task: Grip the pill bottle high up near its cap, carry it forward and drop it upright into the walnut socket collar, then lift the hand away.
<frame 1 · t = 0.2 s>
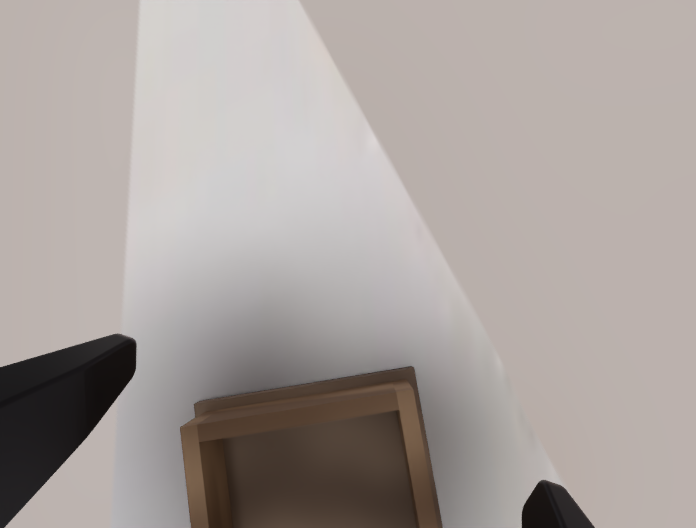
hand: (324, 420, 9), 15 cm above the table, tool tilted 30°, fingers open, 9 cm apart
walnut socket: (322, 496, 23), on the table
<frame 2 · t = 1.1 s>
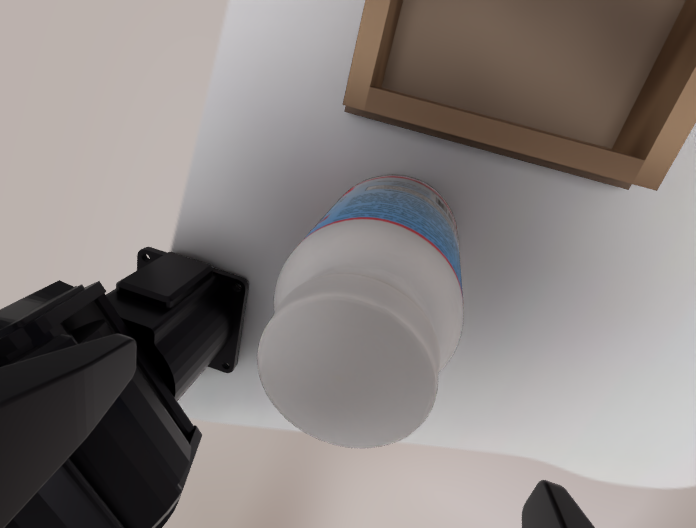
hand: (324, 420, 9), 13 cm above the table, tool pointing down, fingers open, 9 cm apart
pill bottle: (393, 233, 21), on the table
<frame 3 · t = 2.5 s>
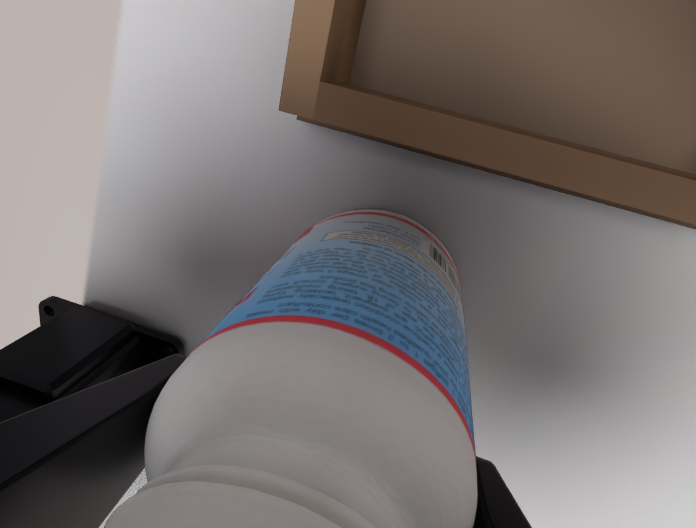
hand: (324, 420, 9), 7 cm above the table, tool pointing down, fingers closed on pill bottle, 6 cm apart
pill bottle: (372, 285, 15), on the table, touching gripper
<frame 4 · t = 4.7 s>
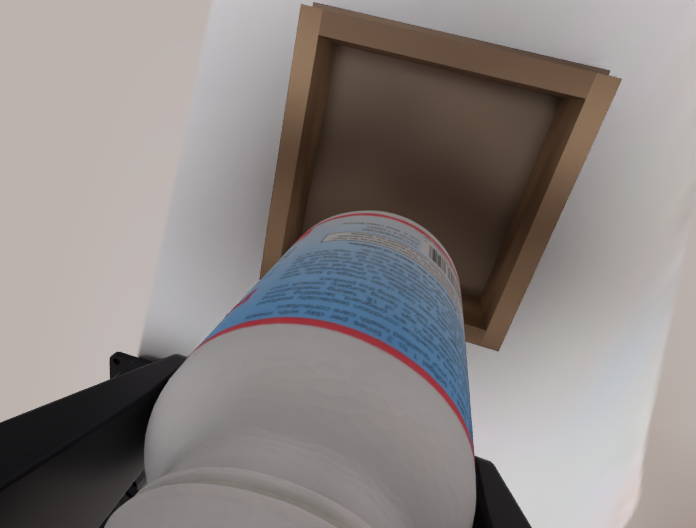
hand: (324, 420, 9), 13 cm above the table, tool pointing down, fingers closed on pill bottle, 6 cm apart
walnut socket: (415, 178, 20), on the table
pill bottle: (372, 286, 15), point 7 cm above the table, touching gripper
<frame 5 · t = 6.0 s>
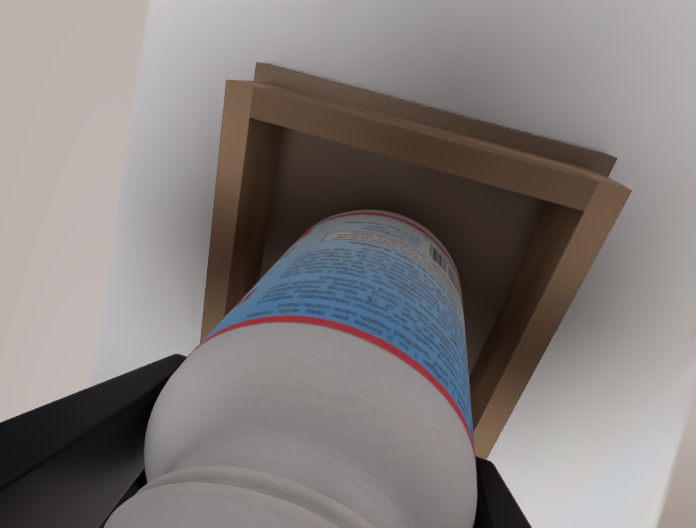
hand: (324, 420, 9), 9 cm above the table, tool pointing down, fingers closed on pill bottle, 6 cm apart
walnut socket: (383, 262, 17), on the table
pill bottle: (372, 286, 15), point 2 cm above the table, touching gripper
when the fingers open (9 cm above the table, at t = 6.8 s): pill bottle drops 1 cm, resting on walnut socket.
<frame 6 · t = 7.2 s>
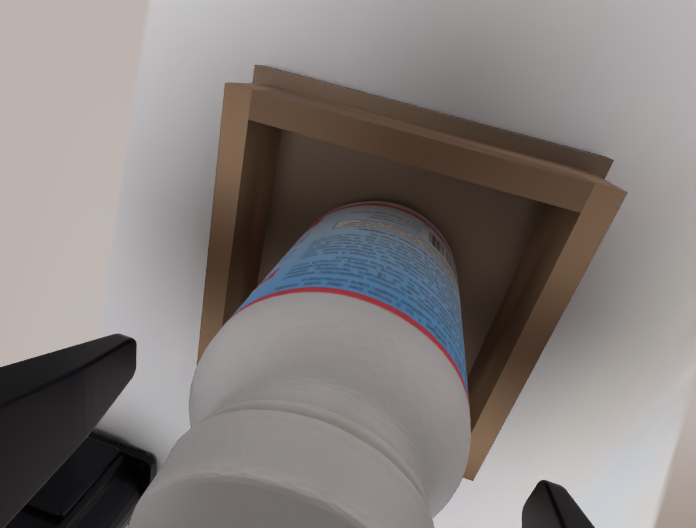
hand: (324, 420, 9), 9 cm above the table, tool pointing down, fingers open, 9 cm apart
walnut socket: (381, 263, 17), on the table
pill bottle: (376, 271, 16), point 1 cm above the table, touching walnut socket
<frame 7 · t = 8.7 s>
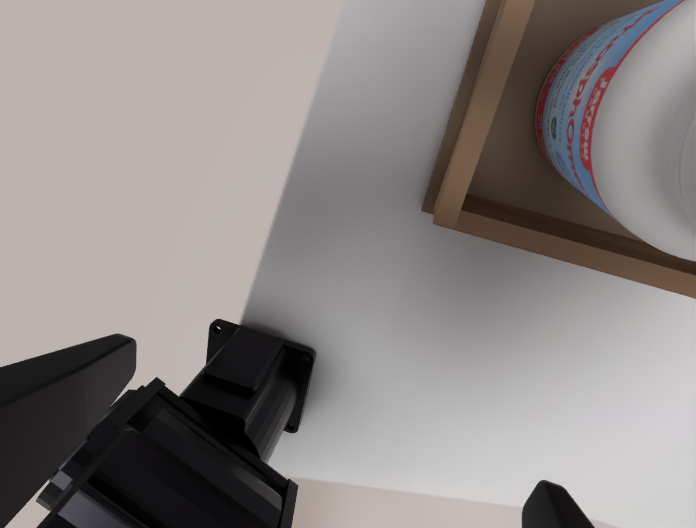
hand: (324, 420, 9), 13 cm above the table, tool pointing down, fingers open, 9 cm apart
walnut socket: (615, 104, 16), on the table
pill bottle: (617, 108, 16), point 1 cm above the table, touching walnut socket
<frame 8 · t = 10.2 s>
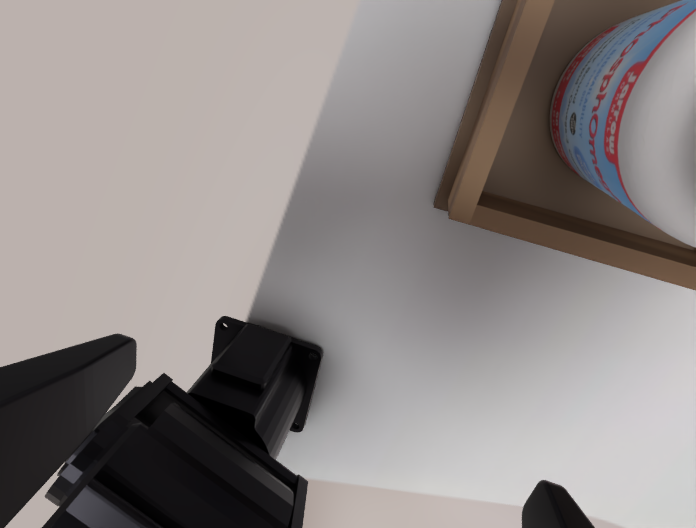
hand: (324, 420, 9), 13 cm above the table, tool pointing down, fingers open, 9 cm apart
walnut socket: (628, 103, 17), on the table
pill bottle: (630, 106, 16), point 1 cm above the table, touching walnut socket
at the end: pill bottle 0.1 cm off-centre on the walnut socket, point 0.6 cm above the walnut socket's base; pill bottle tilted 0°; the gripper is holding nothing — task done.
